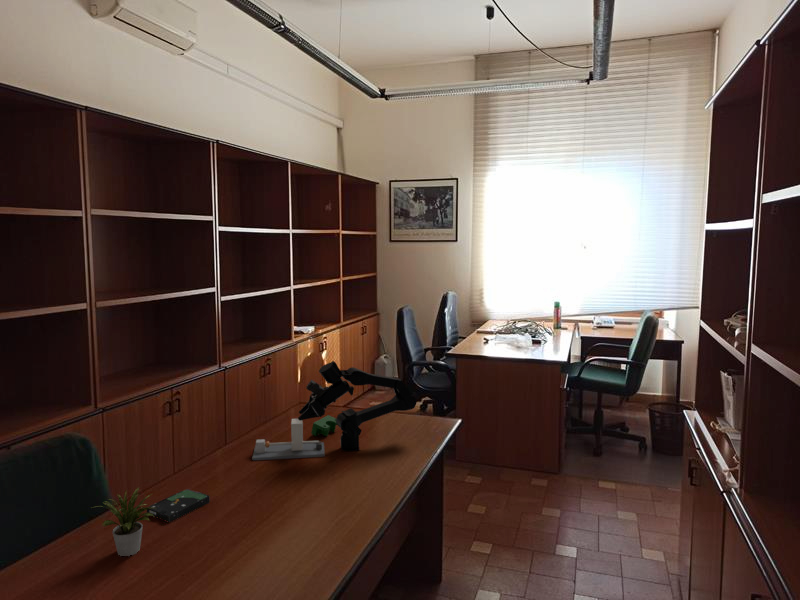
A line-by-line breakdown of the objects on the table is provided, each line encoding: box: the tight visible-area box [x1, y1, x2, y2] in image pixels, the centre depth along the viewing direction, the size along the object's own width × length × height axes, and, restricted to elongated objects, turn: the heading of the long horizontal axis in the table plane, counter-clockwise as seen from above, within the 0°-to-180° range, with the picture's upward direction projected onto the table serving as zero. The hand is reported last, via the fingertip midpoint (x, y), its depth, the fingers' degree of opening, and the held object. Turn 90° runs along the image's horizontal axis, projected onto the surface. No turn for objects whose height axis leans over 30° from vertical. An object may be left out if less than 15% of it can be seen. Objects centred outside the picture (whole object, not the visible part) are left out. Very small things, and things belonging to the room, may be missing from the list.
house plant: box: [91, 487, 155, 557], centre depth 147 cm, size 14×14×16 cm
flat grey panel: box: [251, 439, 326, 461], centre depth 216 cm, size 26×12×5 cm, turn 99°
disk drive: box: [146, 488, 211, 523], centre depth 173 cm, size 10×3×15 cm
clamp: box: [310, 414, 338, 437], centre depth 237 cm, size 12×6×9 cm, turn 148°
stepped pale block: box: [290, 418, 304, 451], centre depth 216 cm, size 4×6×10 cm, turn 9°
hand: (299, 416), depth 215 cm, fingers open, 9 cm apart
